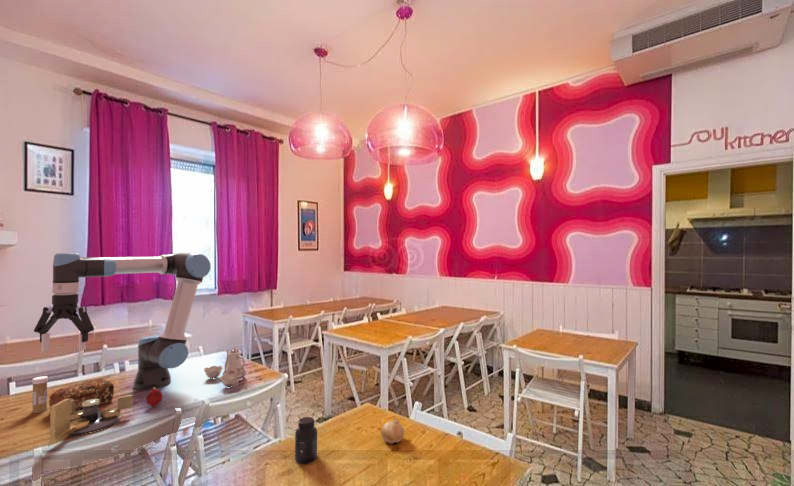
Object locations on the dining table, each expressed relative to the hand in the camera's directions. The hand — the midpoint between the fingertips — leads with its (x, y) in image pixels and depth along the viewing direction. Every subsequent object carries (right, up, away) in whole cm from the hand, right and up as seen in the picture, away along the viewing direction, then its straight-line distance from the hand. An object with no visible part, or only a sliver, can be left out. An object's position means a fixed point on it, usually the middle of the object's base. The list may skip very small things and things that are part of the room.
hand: (63, 350), depth 143 cm
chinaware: (+42, -28, +45) cm, 68 cm away
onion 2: (+124, -28, -12) cm, 128 cm away
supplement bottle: (+97, -27, -23) cm, 104 cm away
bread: (-4, -27, +13) cm, 31 cm away
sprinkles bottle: (-18, -27, +9) cm, 34 cm away
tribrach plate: (+13, -27, -1) cm, 30 cm away
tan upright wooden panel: (+12, -25, -12) cm, 30 cm away
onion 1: (+25, -27, +14) cm, 40 cm away
